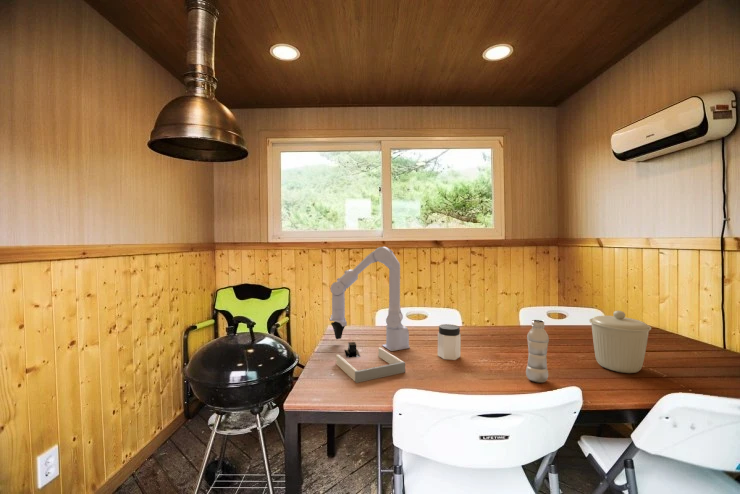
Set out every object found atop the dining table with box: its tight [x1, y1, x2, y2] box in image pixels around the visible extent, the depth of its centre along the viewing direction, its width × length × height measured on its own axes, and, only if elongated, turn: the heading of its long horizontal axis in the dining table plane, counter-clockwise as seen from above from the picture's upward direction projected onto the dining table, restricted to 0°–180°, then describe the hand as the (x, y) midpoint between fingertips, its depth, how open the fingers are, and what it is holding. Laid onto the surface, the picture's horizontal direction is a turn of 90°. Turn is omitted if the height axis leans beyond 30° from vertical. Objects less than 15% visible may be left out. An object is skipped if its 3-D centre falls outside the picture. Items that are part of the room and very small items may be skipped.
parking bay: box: [335, 347, 406, 384], centre depth 120 cm, size 19×18×4 cm
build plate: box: [344, 341, 361, 359], centre depth 135 cm, size 12×7×5 cm, turn 11°
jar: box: [437, 323, 462, 361], centre depth 132 cm, size 9×8×12 cm
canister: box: [588, 310, 652, 374], centre depth 121 cm, size 18×18×21 cm
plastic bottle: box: [525, 319, 550, 383], centre depth 109 cm, size 6×7×20 cm
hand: (338, 338), depth 147 cm, fingers closed
